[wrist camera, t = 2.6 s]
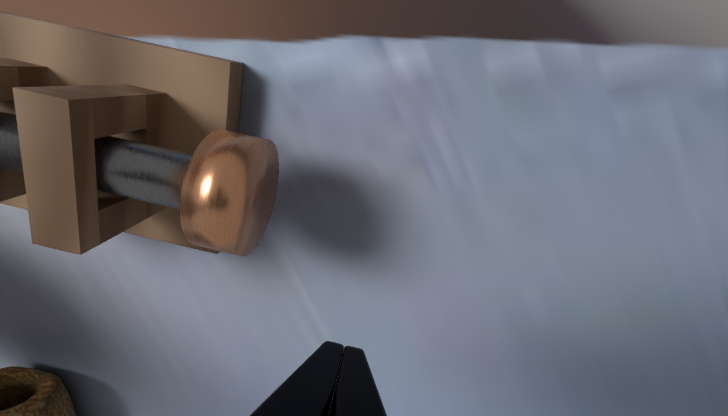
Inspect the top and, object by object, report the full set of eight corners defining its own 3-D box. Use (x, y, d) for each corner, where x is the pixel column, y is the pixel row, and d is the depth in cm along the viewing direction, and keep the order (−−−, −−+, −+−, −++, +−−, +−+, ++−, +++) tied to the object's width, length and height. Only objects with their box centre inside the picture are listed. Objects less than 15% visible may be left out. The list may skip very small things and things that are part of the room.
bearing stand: (4, 190, 22) (-164, 237, 16) (-23, 5, 19) (-254, -33, 12) (229, 242, 22) (153, 314, 15) (243, 63, 18) (152, 55, 12)
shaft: (40, 175, 19) (-77, 206, 15) (29, 75, 18) (-108, 74, 13) (272, 228, 19) (228, 278, 14) (283, 132, 17) (238, 152, 13)
